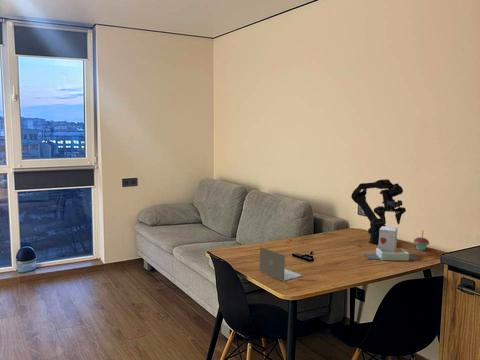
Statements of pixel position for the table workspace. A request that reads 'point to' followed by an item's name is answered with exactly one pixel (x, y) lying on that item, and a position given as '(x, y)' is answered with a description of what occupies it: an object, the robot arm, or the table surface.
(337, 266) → the table surface
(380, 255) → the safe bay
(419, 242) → the cupcake
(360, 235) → the table surface
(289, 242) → the table surface
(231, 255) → the table surface
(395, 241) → the supplement box
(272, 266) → the laptop
